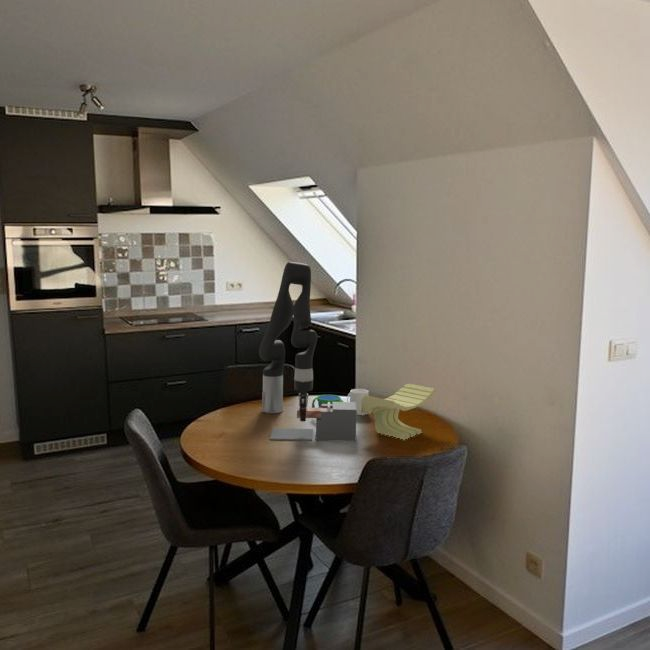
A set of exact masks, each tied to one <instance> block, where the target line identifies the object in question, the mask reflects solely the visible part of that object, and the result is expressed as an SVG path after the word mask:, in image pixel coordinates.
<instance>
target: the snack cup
mask: <svg viewBox="0 0 650 650" xmlns="http://www.w3.org/2000/svg"><path fill="white" fill-rule="evenodd" d="M316 401H317V405H318V408H322V404H327V403H328V402H330V404H332V403H333V402H345V401H344V400H343V399H342V397H341V396H338V395H336V394H320V395H318V396H317V397H315V398H314V399H313V400H312V402H311V408H316V406H315V402H316Z"/></svg>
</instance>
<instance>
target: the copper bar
mask: <svg viewBox="0 0 650 650" xmlns="http://www.w3.org/2000/svg"><path fill="white" fill-rule="evenodd" d="M301 409H305V408H301ZM321 410H327V408H319V407H315V408H312V407H306V419H316V418H321ZM330 410H333V408H330ZM296 418H297V419H300V407H297V408H296Z"/></svg>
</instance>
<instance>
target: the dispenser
mask: <svg viewBox="0 0 650 650" xmlns="http://www.w3.org/2000/svg"><path fill="white" fill-rule="evenodd" d="M322 408H327V410H321V418H315V419H316V420H315V441H343V442H344V441H345V442H346V441H348V442H349V441H351V442H354V441H355V442H356V440H357V415H356V411H357V410H356V403H355V402H350V401H348V402H347V401H344V402H333V403H332V404H330V402H328V403H327V404H322ZM330 408H333V410H330Z"/></svg>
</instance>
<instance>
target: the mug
mask: <svg viewBox="0 0 650 650" xmlns="http://www.w3.org/2000/svg"><path fill="white" fill-rule="evenodd" d="M369 393H370V392H369V390H368V389H365V388H353V389H352V388H351V390H350V392H349V393H348V394H347V397H346V402H355V403H356V410H357V411H356V416H357V415H362V416H366V415H368V414H367V413H363V412H361V401H362V399H363V397H364V396H370V394H369ZM365 414H366V415H365Z"/></svg>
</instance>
